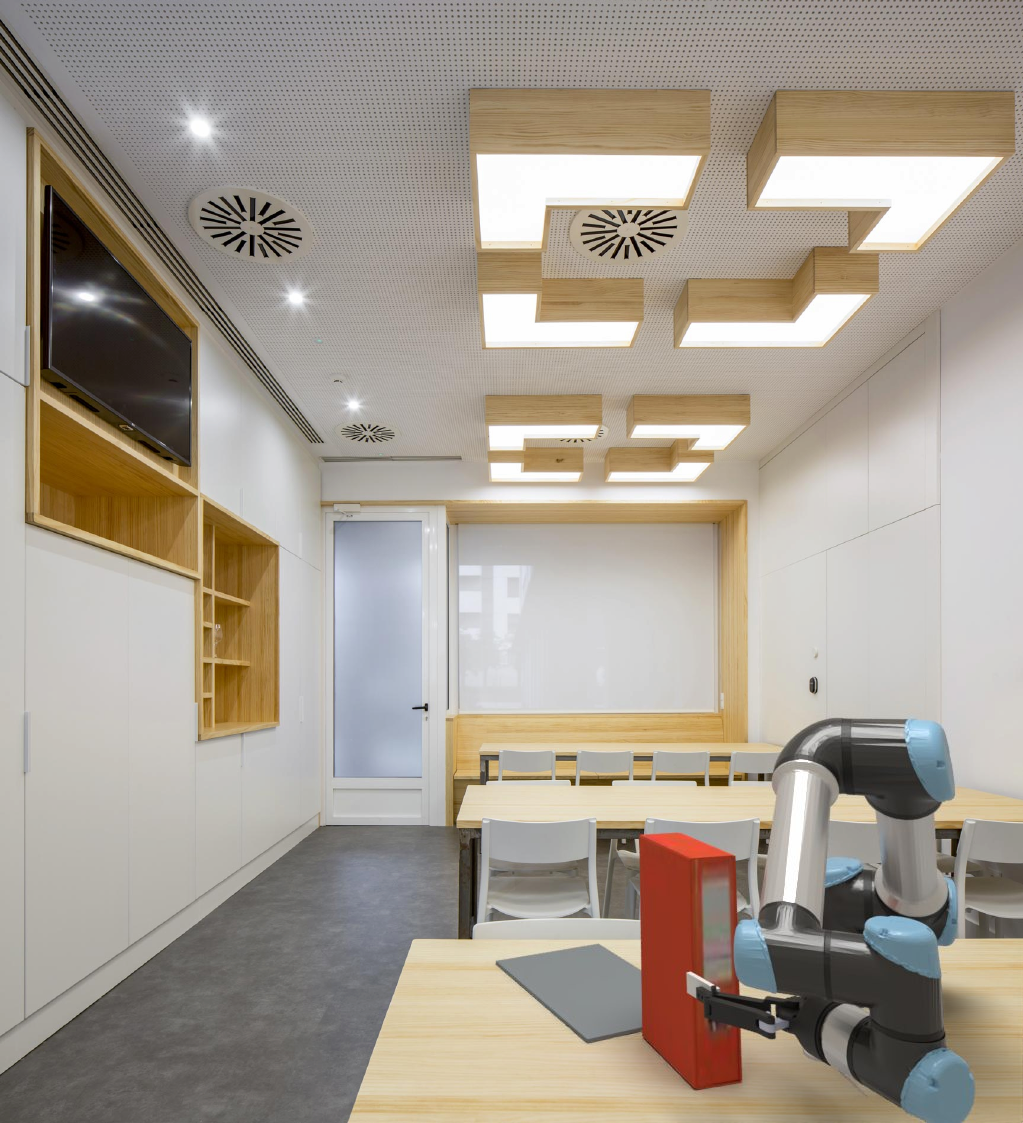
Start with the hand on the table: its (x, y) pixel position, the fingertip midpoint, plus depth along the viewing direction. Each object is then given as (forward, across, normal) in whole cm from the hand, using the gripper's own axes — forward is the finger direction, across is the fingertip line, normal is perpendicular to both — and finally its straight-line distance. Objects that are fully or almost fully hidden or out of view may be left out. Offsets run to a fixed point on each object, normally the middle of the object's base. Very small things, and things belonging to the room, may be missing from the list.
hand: (727, 974), depth 118 cm
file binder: (+10, 0, -16) cm, 19 cm away
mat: (+40, +1, -16) cm, 43 cm away
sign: (-2, +18, -16) cm, 25 cm away
